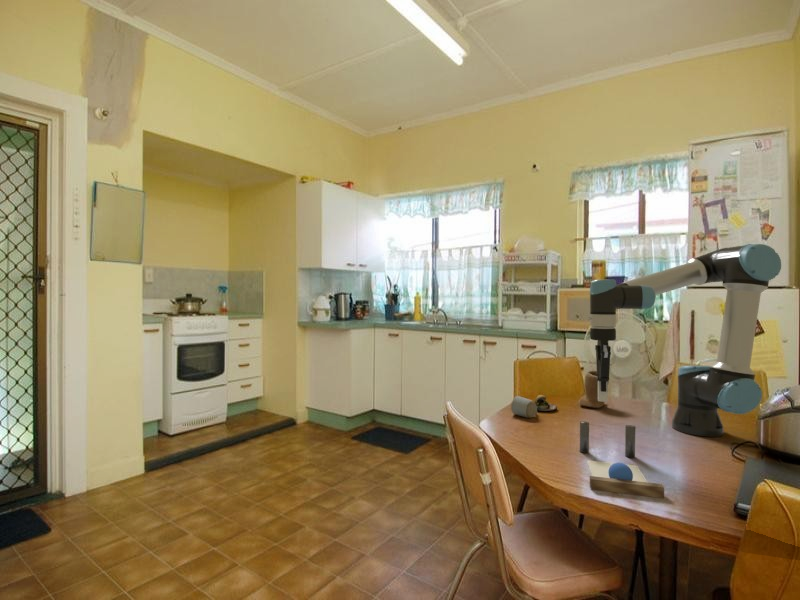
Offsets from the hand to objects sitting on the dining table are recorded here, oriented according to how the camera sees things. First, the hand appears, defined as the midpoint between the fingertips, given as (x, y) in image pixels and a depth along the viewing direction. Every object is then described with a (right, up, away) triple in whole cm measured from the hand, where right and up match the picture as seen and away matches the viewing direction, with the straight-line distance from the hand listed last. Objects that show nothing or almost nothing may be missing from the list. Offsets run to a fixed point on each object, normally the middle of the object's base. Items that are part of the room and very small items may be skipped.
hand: (602, 400), depth 139 cm
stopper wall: (-10, -14, -33) cm, 38 cm away
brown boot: (+20, -14, +50) cm, 55 cm away
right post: (+3, -14, -10) cm, 18 cm away
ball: (-9, -12, -30) cm, 33 cm away
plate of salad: (-5, -14, +43) cm, 46 cm away
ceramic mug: (-15, -14, +34) cm, 39 cm away
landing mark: (-7, -14, -22) cm, 27 cm away
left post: (-9, -14, -7) cm, 18 cm away
